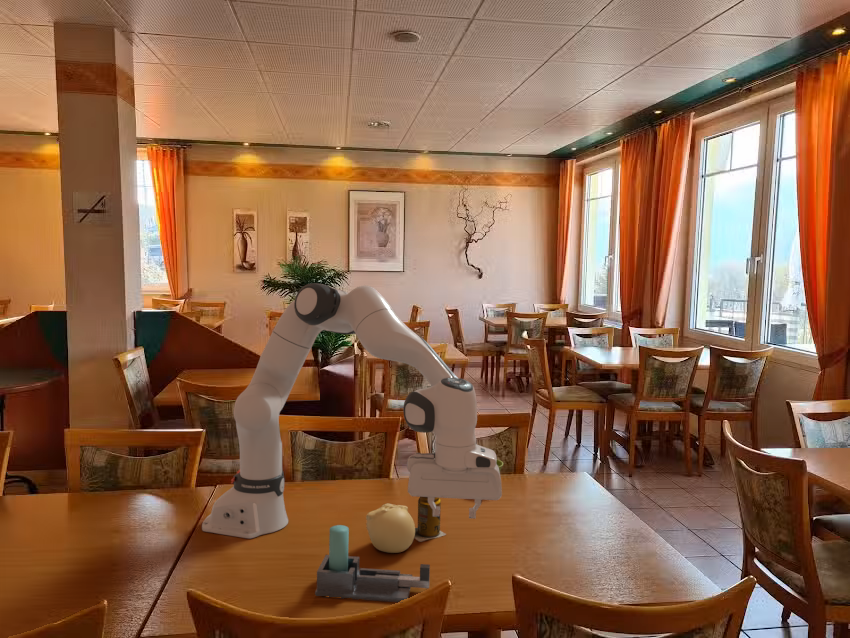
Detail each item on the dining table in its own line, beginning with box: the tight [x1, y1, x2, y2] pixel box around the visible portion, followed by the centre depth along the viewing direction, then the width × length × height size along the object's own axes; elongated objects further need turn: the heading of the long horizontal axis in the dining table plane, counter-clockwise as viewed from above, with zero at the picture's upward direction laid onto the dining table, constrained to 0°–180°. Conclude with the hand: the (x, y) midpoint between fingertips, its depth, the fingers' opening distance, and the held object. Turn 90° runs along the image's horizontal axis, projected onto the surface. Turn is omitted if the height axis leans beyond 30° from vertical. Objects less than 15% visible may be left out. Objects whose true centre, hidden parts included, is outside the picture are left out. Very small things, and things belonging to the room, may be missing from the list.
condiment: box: [414, 497, 447, 543], centre depth 165 cm, size 7×8×12 cm
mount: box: [314, 554, 413, 603], centre depth 137 cm, size 20×10×5 cm, turn 85°
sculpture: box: [365, 503, 416, 554], centre depth 157 cm, size 11×12×11 cm
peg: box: [328, 524, 350, 571], centre depth 137 cm, size 4×4×12 cm
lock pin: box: [375, 563, 431, 589], centre depth 136 cm, size 12×2×5 cm, turn 85°
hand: (454, 516), depth 134 cm, fingers open, 6 cm apart
